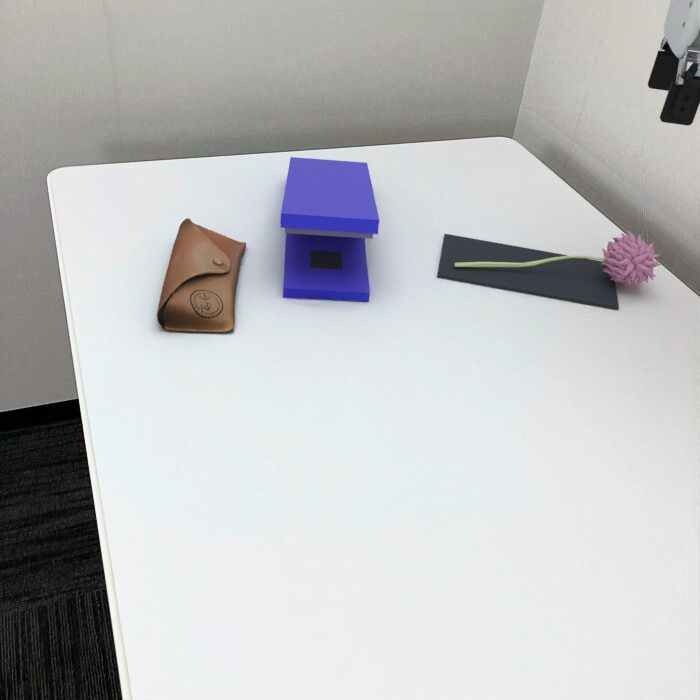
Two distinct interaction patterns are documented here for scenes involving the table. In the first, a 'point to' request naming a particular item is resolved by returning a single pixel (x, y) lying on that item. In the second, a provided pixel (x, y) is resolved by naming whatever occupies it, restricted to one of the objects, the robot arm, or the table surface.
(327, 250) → the stapler
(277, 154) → the table surface
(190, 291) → the sunglasses case
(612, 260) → the artificial flower
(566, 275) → the runner
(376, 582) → the table surface
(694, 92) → the robot arm
